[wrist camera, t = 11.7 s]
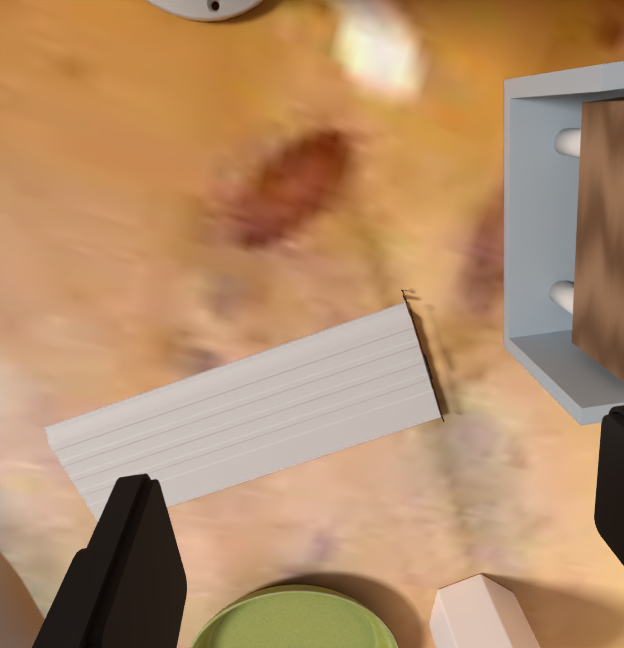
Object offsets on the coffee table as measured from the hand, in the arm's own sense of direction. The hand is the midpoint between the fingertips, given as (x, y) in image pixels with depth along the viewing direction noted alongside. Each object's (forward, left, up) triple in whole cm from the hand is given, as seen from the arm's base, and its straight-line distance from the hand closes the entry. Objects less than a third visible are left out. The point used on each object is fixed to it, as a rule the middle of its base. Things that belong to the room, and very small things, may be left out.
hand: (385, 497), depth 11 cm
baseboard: (+15, -7, -31) cm, 35 cm away
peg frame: (+2, +20, -30) cm, 36 cm away
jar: (+40, +11, -31) cm, 52 cm away
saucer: (+42, -7, -31) cm, 53 cm away
